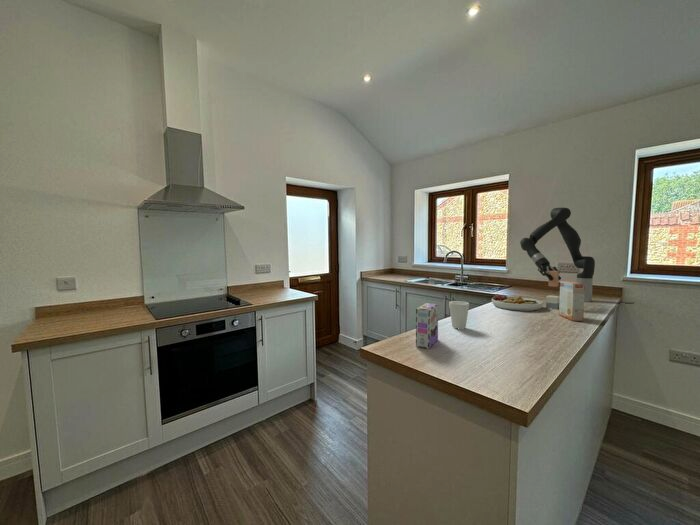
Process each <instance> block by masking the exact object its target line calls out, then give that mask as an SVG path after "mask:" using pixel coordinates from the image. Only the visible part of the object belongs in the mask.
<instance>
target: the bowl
mask: <svg viewBox="0 0 700 525" xmlns="http://www.w3.org/2000/svg"><path fill="white" fill-rule="evenodd" d="M491 302H492V303H491V304H493V306H495V307H496V306H497V307H496V308H499V309H502V308H503V309H502V310H507V309H509V310H508V311H515V310H517V312H534V310H535V311H538V310H540V309H541V308H542V307H543V305H544V302H543V301H542V300H539V299H536V298H535V299H534V298H529V297H521V295H519V296H506V295H505V294H500V293H499V294H498V293H497V294H494V295H493V297H492V298H491Z"/></svg>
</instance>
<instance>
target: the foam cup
mask: <svg viewBox="0 0 700 525" xmlns="http://www.w3.org/2000/svg"><path fill="white" fill-rule="evenodd" d="M448 303H449V304H448V307H449V311H450V312H449V314H450V319H451V327H454V328H459V329H463V330H465V329H466V328H467V320H468V316H469V308H470V303H469V302H468V301H462V300H452V301H448ZM454 328H453V329H454ZM464 328H465V329H464ZM459 329H458V330H459Z"/></svg>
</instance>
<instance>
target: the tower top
mask: <svg viewBox="0 0 700 525" xmlns="http://www.w3.org/2000/svg"><path fill="white" fill-rule="evenodd" d="M546 302H548V303H556V304H557V303H560V295H559V296H558V295H550V294H549V295H546V298H545V303H546Z"/></svg>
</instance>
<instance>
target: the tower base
mask: <svg viewBox="0 0 700 525" xmlns="http://www.w3.org/2000/svg"><path fill="white" fill-rule="evenodd" d="M559 304H560V303H557V304H556V303H548V302H546V301H545V308H546V309H550V308H552V309H551V310H559V309H558V308H559Z"/></svg>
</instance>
